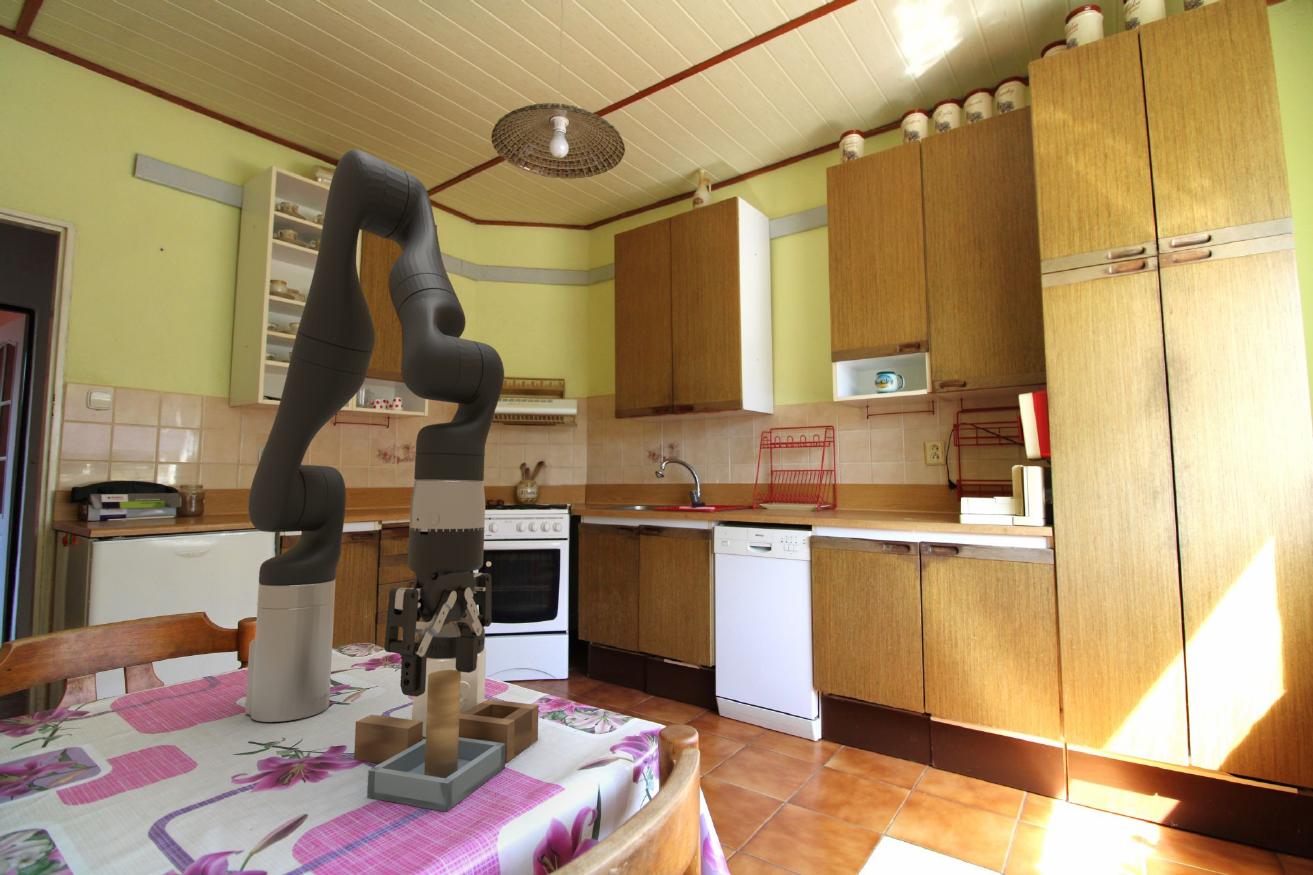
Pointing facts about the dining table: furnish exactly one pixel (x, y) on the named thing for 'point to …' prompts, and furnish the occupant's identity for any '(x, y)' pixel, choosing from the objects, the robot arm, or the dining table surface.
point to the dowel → (442, 723)
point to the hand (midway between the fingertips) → (440, 682)
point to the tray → (411, 787)
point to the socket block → (501, 724)
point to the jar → (444, 658)
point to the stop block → (385, 737)
